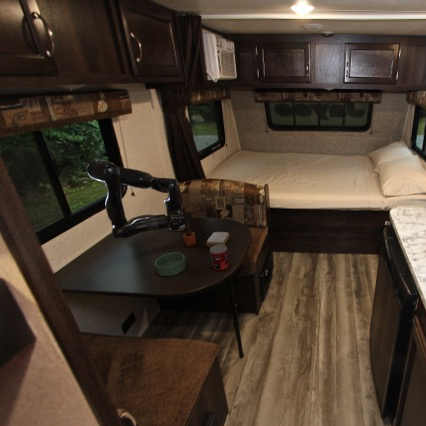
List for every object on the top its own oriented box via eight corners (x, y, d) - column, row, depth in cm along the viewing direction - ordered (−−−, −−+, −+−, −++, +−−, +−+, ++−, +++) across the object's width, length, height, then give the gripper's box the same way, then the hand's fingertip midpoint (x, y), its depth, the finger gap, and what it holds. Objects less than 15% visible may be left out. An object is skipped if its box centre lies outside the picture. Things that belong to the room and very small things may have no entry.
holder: (184, 242, 170) (182, 233, 167) (195, 240, 173) (193, 230, 170) (186, 247, 165) (184, 237, 163) (197, 244, 168) (195, 235, 165)
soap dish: (223, 250, 164) (222, 242, 161) (206, 249, 164) (204, 241, 162) (230, 239, 175) (229, 231, 173) (214, 238, 175) (213, 231, 173)
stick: (187, 235, 167) (181, 206, 159) (191, 234, 168) (185, 205, 160) (187, 236, 166) (181, 207, 158) (191, 235, 167) (185, 207, 159)
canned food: (210, 266, 150) (207, 248, 145) (224, 260, 155) (221, 242, 150) (217, 273, 145) (214, 254, 140) (231, 266, 150) (229, 248, 145)
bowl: (156, 264, 150) (153, 256, 148) (184, 257, 156) (182, 249, 154) (157, 279, 140) (155, 270, 138) (188, 270, 146) (186, 262, 144)
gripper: (155, 221, 148) (192, 214, 156) (154, 211, 159) (188, 205, 167) (159, 234, 151) (194, 226, 159) (157, 223, 162) (190, 216, 170)
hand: (191, 215), depth 163 cm, fingers closed on stick, 2 cm apart
